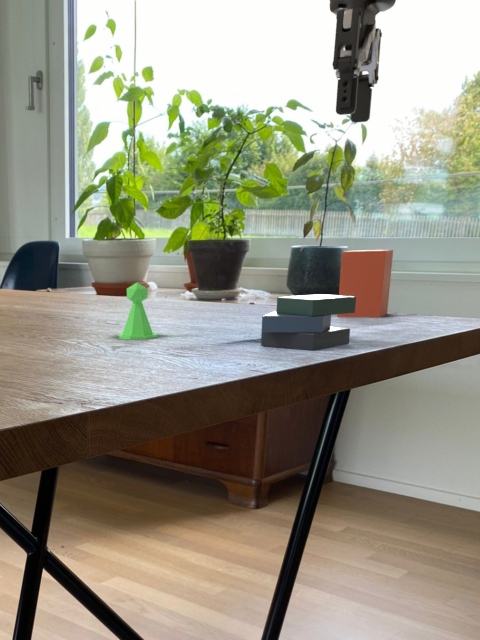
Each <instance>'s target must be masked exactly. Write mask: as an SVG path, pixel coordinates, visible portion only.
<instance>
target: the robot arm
mask: <svg viewBox="0 0 480 640" xmlns="http://www.w3.org/2000/svg"><path fill="white" fill-rule="evenodd" d="M396 2H397V0H328V10H329V13H331V14H332V15H334V16H336V17H335V18H336V25H335V34H334V35H335V37H334V46H333V48H334V49H333V60H332V68H333V71H335V77H336V79H337V87H336V88H337V89H336V102H335V113H336V114H337V115H339V116H343V115H344V116H345V115H350V120H351V122H352V123H355V124H356V123H357V124H358V123H366V122H368V121H369V120H370V118H371V109H372V108H371V107H372V96H373V88H375V85H377V84H378V82H379V67H380V57H381V56H380V54H381V43H382V42H381V41H382V36H383V33H382V29H380V27H377V26H376V21H377V20H376V16H377V15H378V14H380V13H382V12H383V13H384V12H386V11H388V10H390V9H392V8H393V7H394V6H395V4H396ZM364 72H367V73H365V74H363V73H364Z"/></svg>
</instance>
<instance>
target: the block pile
mask: <svg viewBox="0 0 480 640" xmlns="http://www.w3.org/2000/svg"><path fill="white" fill-rule="evenodd" d="M355 307H356V296H340V295H339V294H323V293H316V294H302V295H301V294H300V295H289V296H277V297H276V310H273V311H272V312H271V311H270V312H269V313H267V314H265V315H262V316H261V333H260V334H261V337H260V346H261V347H268V348H269V347H270V348H282V349H292V350H303V351H318V350H323V349H328V348H333V347H334V348H335V347H340V346H345V345H349V344H350V338H351V337H350V335H351V328H350V327H338V326H331V324H332V316H335V315H336V316H337V314H348V313H355Z"/></svg>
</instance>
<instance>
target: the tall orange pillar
mask: <svg viewBox="0 0 480 640" xmlns="http://www.w3.org/2000/svg"><path fill="white" fill-rule="evenodd" d="M393 256H394V249H363V250H362V249H360V250H359V249H358V250H357V249H356V250H343V251H341V261H340V262H341V263H340V275H339V287H338V288H339V289H338V295H340V296H356V307H355V313H348V314H336V316H337V318H382V317H384V316H386V315H387V314H388V310H389V298H390V288H391V278H392V267H393Z"/></svg>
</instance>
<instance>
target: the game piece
mask: <svg viewBox="0 0 480 640" xmlns="http://www.w3.org/2000/svg"><path fill="white" fill-rule="evenodd" d="M126 299H128V300H129V301H131V302H132V304H131V307H130V310H129V312H128V316H127V318H126V322H125V325H124V328H123V331H122V333H118V339H120V340H151V339H156V338H157V339H158V333H157V332H153V329H152V327H151V324H150V321H149V318H148V316H147V312H146V310H145V307H144V305H143V301H145V300H147V299H148V287H146V286H145V285H142V284H141V283H139V282H138V281H136V282H135V283H133V284H131V285H130V286H129V287H126Z"/></svg>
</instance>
